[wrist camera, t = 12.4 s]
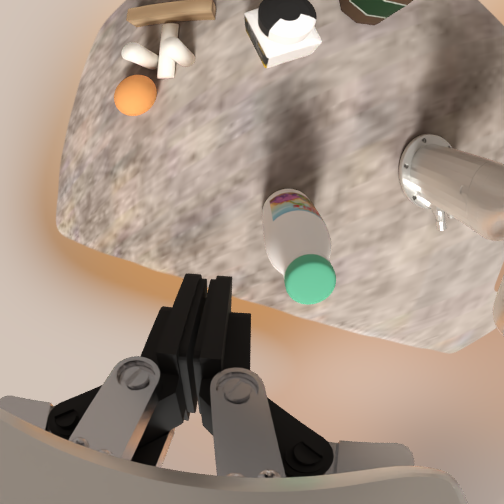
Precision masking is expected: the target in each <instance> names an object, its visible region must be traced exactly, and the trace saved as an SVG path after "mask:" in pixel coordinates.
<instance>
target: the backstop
mask: <svg viewBox="0 0 504 504" xmlns="http://www.w3.org/2000/svg"><path fill="white" fill-rule="evenodd" d="M215 15H216V7H215V4H214V1H213V0H183V1H174V2H166V3H159V4H152V5H146V6H141V7H135V8H130V9H128V13H127V18H126V20H127V21H128V22H130V23H131V24H133V25H134V26H136V27H141V26H147V25H154V24H161V23H170V22H180V21H193V20H215Z"/></svg>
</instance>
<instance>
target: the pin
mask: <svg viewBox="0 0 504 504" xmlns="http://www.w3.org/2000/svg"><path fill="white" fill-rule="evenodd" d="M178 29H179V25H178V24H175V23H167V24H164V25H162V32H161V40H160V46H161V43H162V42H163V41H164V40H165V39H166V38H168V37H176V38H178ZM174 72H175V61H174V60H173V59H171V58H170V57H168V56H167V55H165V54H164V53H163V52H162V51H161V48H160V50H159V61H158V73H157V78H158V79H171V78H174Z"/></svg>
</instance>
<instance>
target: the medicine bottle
mask: <svg viewBox="0 0 504 504" xmlns="http://www.w3.org/2000/svg"><path fill="white" fill-rule="evenodd" d="M244 16H245V26H246V32H247V33H248V35H249V37H250V39H251V41H252V43H253V45H254V47H255V49H256V51H257V53H258V55H259V57H260V59H261V61H262V63H263V65H264V67H265V68H270V67H273V66H276V65H279V64H282V63H285V62H288V61H291V60H294V59H298V58H301V57H304V56H308V55H311V54H312V53H313V52H314V51H315V50H316V48H317V47H318V46H319V45H320V44H321V43H322V40H321V38H320V36H319V34H318V32H317V30H316V28H315V26H314V25H315V23H316V12H315V9H314V7H313V6H312V4H311V3H310V2H309V1H308V0H263V1H262V2H261V4H260V6H259V8H257V9H254V10H251V11H248V12H245V14H244Z"/></svg>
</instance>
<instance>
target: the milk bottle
mask: <svg viewBox="0 0 504 504" xmlns="http://www.w3.org/2000/svg"><path fill="white" fill-rule="evenodd" d="M262 223H263V234H264V243H265V248H266V252H267V255H268V258H269V260H270V262H271V263H272V265H273V266H274V267H275V268H276V269H277V270H278V271H279V272H280V273H281V274H283V275H284V281H285V287H286V290H287V293H288V294H289V296H290V297H291V298H292V299H293V300H295V301H296V302H298V303H301V304H315V303H318V302H321V301H323V300H324V299H326V298H327V297H328V296H329V295H330V294H331V293H332V291H333V290H334V287H335V284H336V275H335V272H334V269H333V267H332V265H331V263H330V261H329V257H330V254H331V238H330V234H329V231H328V229H327V227H326V225H325V223H324V221H323V219H322V218H321V216H320V214H319V213H318V211H317V210H316V208H315V207H314V205H313V204H312V202H311V201H310V200H309V198H308V197H307V196H306V195H305V194H303V193H302V192H300V191H298V190H295V189H282V190H279V191H276V192H275V193H273V194H272V195H271V196H270V197H269V198H268V199H267V200H266V202H265V203H264V206H263V210H262Z"/></svg>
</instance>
